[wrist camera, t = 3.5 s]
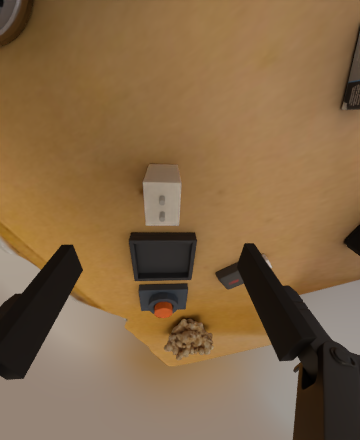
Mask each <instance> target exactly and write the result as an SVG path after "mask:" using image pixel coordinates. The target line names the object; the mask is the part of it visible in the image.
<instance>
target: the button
mask: <svg viewBox="0 0 360 440" xmlns="http://www.w3.org/2000/svg"><path fill="white" fill-rule="evenodd" d="M154 315H155V316H156V317H159V318H167V317H169V316H171V315H172V304H171V303H169V302H159V303H157V304H156V305H155V309H154Z"/></svg>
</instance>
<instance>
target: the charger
mask: <svg viewBox="0 0 360 440" xmlns="http://www.w3.org/2000/svg"><path fill="white" fill-rule="evenodd" d="M143 194H144V207H145V221H146V226H179V216H180V200H181V178H180V174H179V169H178V165H169V164H149V166H148V169H147V171H146V174H145V177H144V180H143Z"/></svg>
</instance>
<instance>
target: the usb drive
mask: <svg viewBox="0 0 360 440" xmlns="http://www.w3.org/2000/svg"><path fill="white" fill-rule="evenodd" d="M262 256H263V258H264V259H265V261H266V262H267V264H268V265H269V267H270V268H272V266H271V264H270V262H269V260H268V259H267V257H266V256H265V254H263V255H262ZM237 265H238V262H237V263H235V264H233V265H231V266H229V267H227V268H225V269H222V270H220V271H218V272H216V276H217V278H218V279H219V281H220V282H221V283H222V284H223V285H224V286H225V287H226V289H232V288H234V287H236V286H239V285H241V284H243V283H244V282H243V280H242V278H241V276H240V273H239V271H238V269H237Z"/></svg>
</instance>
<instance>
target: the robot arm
mask: <svg viewBox="0 0 360 440" xmlns="http://www.w3.org/2000/svg"><path fill="white" fill-rule="evenodd" d="M32 6H33V0H0V46H3V45H5V44H7V43H9V42H11V41H12V40H14V39H15V38H16V37H17V36H18V35H19V34H20V33H21V32H22V30H23V29H24V27H25V26H26V24H27V22H28V19H29V17H30V14H31V10H32ZM237 269H238V271H239V273H240V276H241V278H242V280H243V282H244V284H245V287H246V289H247V291H248V293H249V295H250V298H251V300H252V302H253V304H254V306H255V309H256V311H257V313H258V315H259V317H260V319H261V322H262V324H263V326H264V328H265V330H266V333H267V335H268V337H269V339H270V341H271V344H272V346H273V348H274V350H275V352H276V354H277V357H278V359H279V361H291V360H294V359H295V358H296V357H297V356H298V358H299V360H300V361H301V362H300V363H299V364H298V365H297V366H296V367H295V368H294V372H297V371H298V370H299V375H298V386H297V398H296V409H295V421H294V433H293V440H360V355H357V354H354V353H351V352H349V351H348V350H347V349H346V348H345V347H343V346H342V345H341V344H339V343H337V342H334V341H333V340H332V339H331V338H330V337H329V336H328V334H327V333H326V332H325V330H324V329H323V328H322V326H321V325H320V323H319V322H318V321H317V319H316V318H315V317H314V315H313V314H312V313H311V311H310V310H309V309H308V307H307V306H306V304H305V303H304V302H303V300H302V299H301V298H300V296H299V295H298V293H297V292H296V291H295V290H293V289H292V288H291V287H290V286H282V284H281V283H280V281H279V280H278V278H277V277H276V276H275V274H274V273H273V271H272V270H271V268H270V267H269V265H268V264H267V262H266V261H265V259H264V258H263V256H262V255H261V253H260V252H259V250H258V249H257V247H256V246H255V244H254V243H245V244H244V247H243V250H242V253H241V256H240V259H239V262H238V265H237ZM82 271H83V269H82V266H81V264H80V261H79V259H78V256H77V254H76V251H75V249H74V246H73V245H61V246H60V248H59V249H58V250H57V251H56V252H55V254H54V255H53V256H52V257H51V259H50V260H49V261H48V262H47V263H46V265H45V266H44V267H43V268H42V270H41V271H40V272H39V273H38V274H37V276H36V277H35V278H34V279H33V281H32V282H31V283H30V284H29V286H28V287H27V288H26V289H25V290H24V292H23V293H22V294H14V295H13V296H12V297H11V298H9V299H8V300H7V301H5V302H4V303H3V304H2V305H1V307H0V376H1V377H3V378H5V379H7V380H8V379H23V378H24V377H25V375H26V373H27V371H28V370H29V368H30V366H31V364H32V362H33V360H34V359H35V357H36V355H37V353H38V351H39V349H40V348H41V346H42V344H43V342H44V340H45V338H46V337H47V335H48V333H49V331H50V329H51V328H52V326H53V324H54V322H55V320H56V318H57V317H58V315H59V312H60V311H61V309H62V307H63V306H64V304H65V302H66V300H67V298H68V296H69V295H70V293H71V291H72V289H73V287H74V285H75V284H76V282H77V280H78V278H79V276H80V274H81V273H82Z"/></svg>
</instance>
